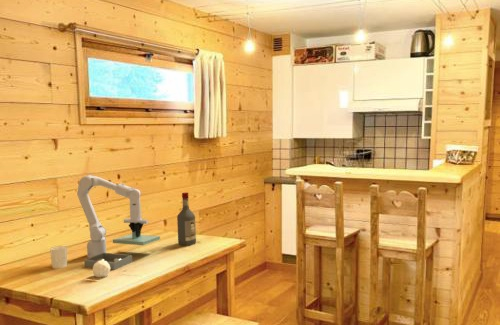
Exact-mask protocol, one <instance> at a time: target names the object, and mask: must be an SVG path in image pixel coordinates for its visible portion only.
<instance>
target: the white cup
mask: <svg viewBox="0 0 500 325" xmlns="http://www.w3.org/2000/svg"><path fill="white" fill-rule="evenodd" d="M49 251H50V260H51V266H52V267H51V268H52V269H62V268H66V267H67V266H68V246H67V245H57V246H53V247H50V248H49Z"/></svg>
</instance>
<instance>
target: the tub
mask: <svg viewBox="0 0 500 325" xmlns="http://www.w3.org/2000/svg"><path fill="white" fill-rule="evenodd" d="M116 258H121V260H119V261H116V262H114V259H116ZM97 259H105V261H107V263H108V264H109V265H110V271H115V270H118V269H120V268H122V267H124V266H127V265H130V264H131V263H133V255H132V254H122V253H121V254H120V253H109V252H106V253H101V254H99V255H96V256H94V257H87V258H86V259H83V260H84V268H89V269H90V268H92V269H93V266H94V264H95V263H96V262H98V261H97Z"/></svg>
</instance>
